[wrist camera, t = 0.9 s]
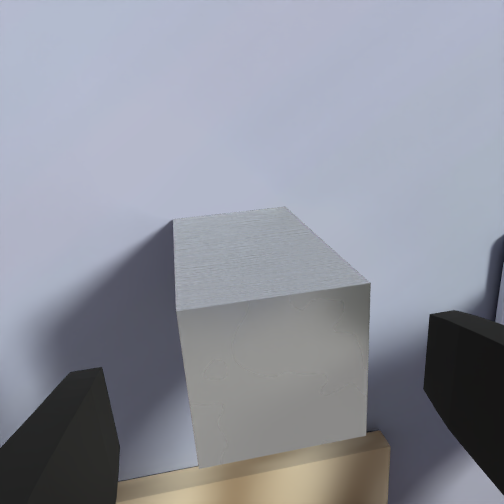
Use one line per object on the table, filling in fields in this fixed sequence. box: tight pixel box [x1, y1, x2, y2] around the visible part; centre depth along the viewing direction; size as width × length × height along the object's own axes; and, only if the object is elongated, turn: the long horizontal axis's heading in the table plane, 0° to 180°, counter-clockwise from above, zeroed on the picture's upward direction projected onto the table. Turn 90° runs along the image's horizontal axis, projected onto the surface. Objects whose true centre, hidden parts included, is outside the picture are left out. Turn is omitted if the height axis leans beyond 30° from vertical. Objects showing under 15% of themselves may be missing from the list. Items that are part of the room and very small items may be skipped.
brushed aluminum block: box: [173, 207, 371, 469], centre depth 12 cm, size 4×4×7 cm
